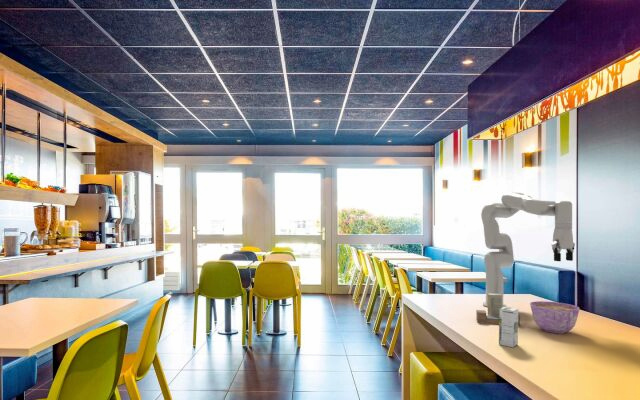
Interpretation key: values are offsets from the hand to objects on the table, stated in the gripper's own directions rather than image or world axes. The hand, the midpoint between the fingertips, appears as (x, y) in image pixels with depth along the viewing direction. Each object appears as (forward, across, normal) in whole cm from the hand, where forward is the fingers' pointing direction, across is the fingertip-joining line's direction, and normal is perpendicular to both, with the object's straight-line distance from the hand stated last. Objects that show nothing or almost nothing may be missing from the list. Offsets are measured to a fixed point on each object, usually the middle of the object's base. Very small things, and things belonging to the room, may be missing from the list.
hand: (563, 260), depth 214 cm
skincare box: (+31, +22, -22) cm, 44 cm away
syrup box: (+31, +57, +13) cm, 66 cm away
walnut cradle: (+31, +30, -14) cm, 45 cm away
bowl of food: (+31, +18, +7) cm, 37 cm away
